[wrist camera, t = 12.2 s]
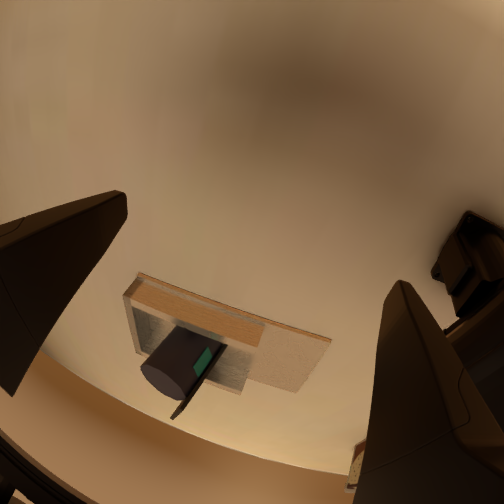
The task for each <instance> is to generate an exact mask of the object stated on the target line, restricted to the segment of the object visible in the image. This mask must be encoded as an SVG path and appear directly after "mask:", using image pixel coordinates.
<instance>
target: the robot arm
mask: <svg viewBox="0 0 504 504" xmlns="http://www.w3.org/2000/svg"><path fill="white" fill-rule="evenodd" d="M127 215H128V210H127V197H126V194H125V193H124V192H121V191H117V190H113V191H109V192H105V193H102V194H98V195H94V196H91V197H87V198H83V199H80V200H76V201H73V202H70V203H66V204H63V205H60V206H56V207H53V208H50V209H47V210H44V211H40V212H37V213H34V214H31V215H28V216H26V217H22V218H19V219H17V220H14V221H11V222H8V223H5V224H2V225H0V387H1V388H2V389H4V390H5V391H6V392H7V393H8V394H9V395H10V396H11V397H13V395H14V394H15V392H16V390H17V388H18V386H19V385H20V383H21V381H22V379H23V377H24V375H25V373H26V372H27V370H28V368H29V366H30V364H31V363H32V361H33V359H34V358H35V356H36V354H37V353H38V351H39V349H40V347H41V346H42V344H43V342H44V341H45V339H46V337H47V336H48V334H49V333H50V331H51V329H52V328H53V326H54V325H55V323H56V322H57V320H58V319H59V317H60V315H61V314H62V312H63V311H64V309H65V308H66V306H67V305H68V303H69V302H70V301H71V299H72V298H73V296H74V295H75V293H76V292H77V290H78V289H79V288H80V286H81V285H82V283H83V282H84V281H85V279H86V278H87V276H88V275H89V274H90V272H91V271H92V270H93V268H94V267H95V266H96V264H97V263H98V262H99V260H100V259H101V258H102V256H103V255H104V253H105V252H106V250H107V249H108V247H109V246H110V244H111V243H112V241H113V239H114V238H115V236H116V235H117V233H118V232H119V230H120V229H121V227H122V226H123V224H124V223H125V221H126V219H127ZM469 217H471V219H470V220H467V219H468V218H469ZM437 272H438V274H435V273H437ZM431 276H432V278H433V279H435V280H437V281H440V282H443V283H445V285H446V289H447V293H448V295H451V298H452V302H453V306H454V310H455V314H456V316H457V317H459V318H460V319H458V320H457V321H456V322H455V323H453V324H452V325H451V326H450V327H448V328H447V329H444V330H443V331H442V329H441V328H440V326H439V325H438V323H437V322H436V320H435V319H434V317H433V316H432V314H431V313H430V311H429V310H428V308H427V307H426V305H425V304H424V302H423V301H422V299H421V298H420V296H419V295H418V294H417V292H416V291H415V289H414V288H413V286H412V285H411V284H410V283H408V282H405V281H403V280H397V281H396V283H395V284H394V286H393V287H392V289H391V290H390V292H389V294H388V295H387V297H386V299H385V301H384V304H383V311H382V318H381V324H380V331H379V337H378V343H377V351H376V363H375V375H374V385H373V394H372V403H371V410H370V418H369V425H368V431H367V437H366V443H365V449H364V454H363V460H362V465H361V470H360V475H359V478H358V483H357V487H356V491H355V496H354V500H353V504H504V229H503V228H502V227H500V226H498V225H496V224H494V223H492V222H490V221H489V220H487V219H485V218H483V217H481V216H479V215H477V214H475V213H473V212H470V211H468V212H466V213H465V214H464V215H463V217H462V219H461V221H460V223H459V225H458V227H457V228H456V230H455V232H454V233H453V234H452V235H451V236H450V238H449V240H448V242H447V243H446V245H445V247H444V249H443V250H442V252H441V254H440V255H439V257H438V261H437V262H436V264H435V266H434V267H433V269H432V271H431ZM15 489H17V490H19V491H20V492H21V493H22V494H23V495H24V496H26V498H27V499H28V500H30V501H32V502H33V503H34V504H98V503H97V502H95V501H93V500H91V499H90V498H88V497H87V496H85V495H84V494H82V493H80V492H79V491H77V490H76V489H74V488H73V487H71V486H70V485H68V484H67V483H65V482H64V481H62V480H61V479H60V478H58V477H57V476H56V475H54V474H53V473H52V472H50V471H49V470H47V469H46V468H45V467H44V466H42V465H41V464H40V463H39V462H37V461H36V460H35V459H34V458H32V457H31V456H30V455H29V454H28V453H26V452H25V451H24V450H23V449H22V448H21V447H20V446H18V445H17V444H16V443H15V442H14V441H13V440H12V439H11V438H10V437H9V436H7V435H6V434H5V433H4V432H3V431H2V430H1V429H0V504H25V503H24V502H22V501H21V500H19V499H18V498H16V497H14V496H12V495H13V493H14V491H15Z"/></svg>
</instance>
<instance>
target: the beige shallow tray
mask: <svg viewBox="0 0 504 504" xmlns="http://www.w3.org/2000/svg"><path fill="white" fill-rule="evenodd" d="M123 300H124V305H125V309H126V314H127V318H128V323H129V327H130V331H131V335H132V339H133V343H134V347H135V351H136V353H138V354H140V355H142V356H144V357H146V358H148V357H149V356H150V355H151V354H152V353H153V351H154V350H155V349H156V348H157V347H158V346H159V345H160V343H161V342H162V341H163V340H164V339H165V338H166V337H167V335H168V334H169V333H170V332H171V331H172V330H173V329H174V327H175V326H176V325H178V326H180V327H183V328H185V329H188V330H190V331H193V332H195V333H198V334H200V335H203V336H206V337H208V338H211V339H214V340H216V341H219V342H221V344H222V346H223V345H224V344H227V345H228V346H227V348H226V349H225V351H224V352H223V354H222V355H221V357H220V358H219V360H218V361H217V363H216V364H215V365H214V367H213V368H212V370H211V371H210V373H209V374H208V376H207V377H206V379H205V380H204V381H203V382H205V383H207V384H210V385H213V386H215V387H218V388H221V389H223V390H226V391H229V392H232V393H235V394H238V395H241V392H242V390H243V387H244V384H245V381H246V379H247V378H249V379H252V380H255V381H258V382H261V383H264V384H267V385H270V386H273V387H277V388H280V389H283V390H287V391H290V392H294V393H297V392H298V390H299V389H300V388H301V386H302V385H303V383H304V382H305V381H306V379H307V378H308V376H309V375H310V373H311V372H312V371H313V369H314V368H315V366H316V365H317V363H318V362H319V360H320V359H321V357H322V356H323V354H324V353H325V351H326V350H327V348H328V347H329V345H330V344H331V339H328V338H325V337H321V336H318V335H315V334H312V333H308V332H305V331H302V330H299V329H295V328H292V327H289V326H286V325H283V324H280V323H277V322H274V321H271V320H268V319H265V318H262V317H259V316H256V315H253V314H250V313H247V312H244V311H241V310H238V309H235V308H232V307H229V306H227V305H224V304H221V303H218V302H215V301H213V300H210V299H207V298H204V297H202V296H199V295H196V294H193V293H191V292H188V291H185V290H183V289H180V288H178V287H175V286H172V285H170V284H167V283H165V282H162V281H159V280H157V279H154V278H152V277H149V276H147V275H144V274H142V273H138V274H137V278H136V279H135V280H134V281H133V283H132V284H131V285H130V286H129V288H128V289H127V290H126V291H125V293H124V294H123Z"/></svg>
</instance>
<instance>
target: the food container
mask: <svg viewBox="0 0 504 504" xmlns="http://www.w3.org/2000/svg"><path fill="white" fill-rule="evenodd" d="M365 443H366V439H364V440H362V441H361V442H359V443H358V444H356V445H355V449H354V454H353V458H352V463H351V467H350V471H349V476H348V480H347V483H345V492H346V493H355V491H356V487H357V483H358V478H359V475H360V470H361V465H362V460H363V454H364V449H365Z"/></svg>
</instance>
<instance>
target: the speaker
mask: <svg viewBox="0 0 504 504" xmlns="http://www.w3.org/2000/svg"><path fill="white" fill-rule="evenodd" d="M227 346H228V345H227V344H224V345H223V346H222V344H221V342H219V341H216V340H214V339H211V338H208V337H206V336H203V335H200V334H198V333H195V332H193V331H190V330H188V329H185V328H183V327H180V326H178V325H176V326H175V327H174V329H173V330H172V331H171V332H170V333H169V334H168V335H167V337H166V338H165V339H164V340H163V341H162V342H161V343H160V345H159V346H158V347H157V348H156V349H155V350H154V351H153V353H152V354H151V355H150V356H149V357H148V358H147V359H146V361H145V362H144V363H143V364H142V365H141V366H140V367H141V371H142V373H143V375H144V376H145V378H146V379H147V381H149V382H150V383H151V384H152V385H153V386H154V387H155V388H156V389H157V390H158V391H160V392H161V393H163V394H164V395H166V396H168V397H170V398H172V399H175V400H177V401H178V400H183V401H182V402H181V403H180V405H179V406H178V407H177V409H176V410H175V412H174V413H173V414H172V416H171V417H170V418H171V419H172V420H173V419H175V418H176V417H177V416H178V415H179V414H180V413H181V412H182V411H183V410H184V409H185V407H186V406H187V404H188V403H189V402H190V400H191V399H192V397H193V396H194V394H195V393H196V392H197V390H198V389H199V387H200V386H201V384H202V383H203V381H204V380H205V379H206V377H207V376H208V374H209V373H210V371H211V370H212V368H213V367H214V365H215V364H216V363H217V361H218V360H219V358H220V357H221V355H222V354H223V352H224V351H225V349H226V348H227Z"/></svg>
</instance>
